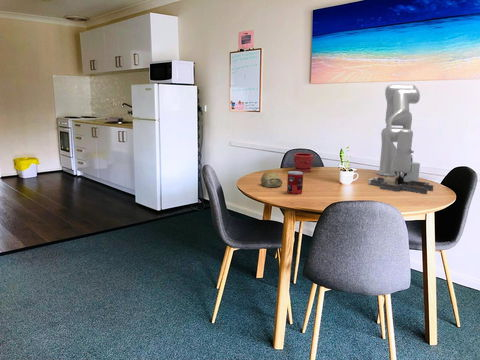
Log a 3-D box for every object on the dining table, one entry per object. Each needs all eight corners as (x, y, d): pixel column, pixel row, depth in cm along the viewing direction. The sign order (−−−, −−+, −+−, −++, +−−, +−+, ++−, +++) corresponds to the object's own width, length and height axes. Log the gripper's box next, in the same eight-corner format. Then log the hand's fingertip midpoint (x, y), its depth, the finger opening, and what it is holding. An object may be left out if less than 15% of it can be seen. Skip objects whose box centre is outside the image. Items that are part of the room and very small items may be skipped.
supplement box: (418, 184, 223) (420, 163, 220) (404, 183, 224) (407, 162, 222) (414, 181, 230) (417, 161, 227) (402, 181, 231) (404, 161, 229)
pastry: (266, 182, 222) (266, 169, 221) (285, 184, 216) (286, 171, 215) (255, 186, 210) (256, 172, 209) (276, 189, 204) (276, 174, 203)
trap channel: (380, 180, 232) (380, 175, 231) (436, 189, 210) (436, 184, 209) (364, 185, 216) (364, 180, 215) (422, 195, 194) (423, 190, 194)
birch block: (387, 184, 220) (388, 176, 219) (397, 186, 216) (398, 177, 215) (383, 186, 216) (384, 177, 215) (393, 187, 212) (394, 179, 211)
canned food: (286, 190, 200) (287, 170, 198) (301, 191, 200) (302, 171, 198) (287, 194, 193) (288, 173, 190) (303, 194, 192) (304, 173, 190)
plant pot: (291, 169, 266) (292, 152, 264) (309, 169, 268) (310, 152, 265) (295, 172, 253) (296, 155, 251) (314, 172, 255) (315, 155, 253)
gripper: (419, 152, 206) (416, 185, 210) (392, 150, 216) (389, 181, 220) (415, 153, 201) (411, 187, 205) (387, 151, 211) (384, 182, 215)
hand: (400, 183), depth 212 cm, fingers closed
